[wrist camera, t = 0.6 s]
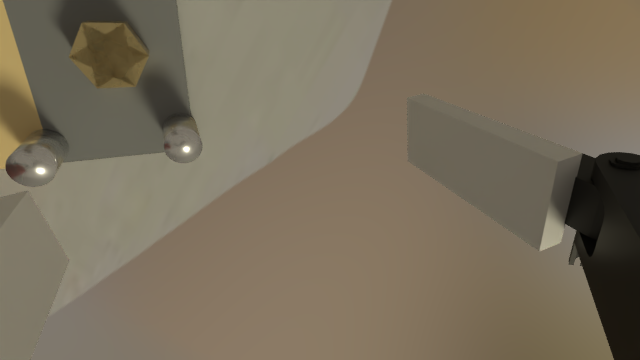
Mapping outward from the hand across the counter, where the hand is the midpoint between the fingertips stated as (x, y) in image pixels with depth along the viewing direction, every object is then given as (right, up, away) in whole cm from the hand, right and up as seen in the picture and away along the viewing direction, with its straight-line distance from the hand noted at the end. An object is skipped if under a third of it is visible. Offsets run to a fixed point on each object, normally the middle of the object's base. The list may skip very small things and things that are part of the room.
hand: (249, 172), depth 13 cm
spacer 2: (-10, +4, +20) cm, 22 cm away
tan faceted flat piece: (-13, +10, +15) cm, 22 cm away
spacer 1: (-19, +3, +16) cm, 25 cm away
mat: (-15, +9, +15) cm, 23 cm away
